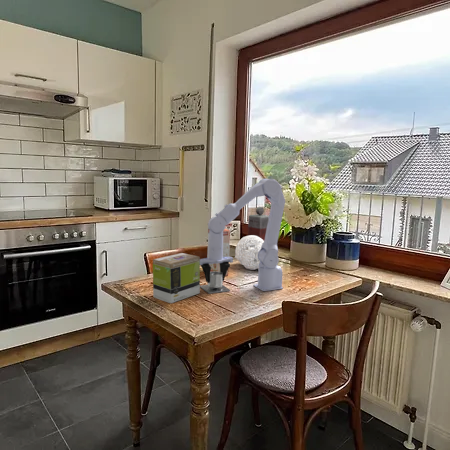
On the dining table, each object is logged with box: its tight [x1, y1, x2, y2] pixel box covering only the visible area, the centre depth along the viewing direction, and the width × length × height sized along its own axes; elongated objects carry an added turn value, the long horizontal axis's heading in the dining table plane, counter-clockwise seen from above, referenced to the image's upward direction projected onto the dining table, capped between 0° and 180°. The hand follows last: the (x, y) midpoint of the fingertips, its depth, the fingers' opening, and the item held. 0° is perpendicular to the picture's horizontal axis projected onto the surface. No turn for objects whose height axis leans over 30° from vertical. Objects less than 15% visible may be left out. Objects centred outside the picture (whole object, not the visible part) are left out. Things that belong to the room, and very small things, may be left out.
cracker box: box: [206, 226, 231, 277], centre depth 166 cm, size 14×6×21 cm, turn 22°
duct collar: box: [207, 271, 224, 288], centre depth 142 cm, size 6×6×5 cm
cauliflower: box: [234, 235, 264, 271], centre depth 178 cm, size 20×18×16 cm
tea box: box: [152, 252, 201, 304], centre depth 133 cm, size 15×10×15 cm, turn 141°
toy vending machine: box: [247, 206, 269, 241], centre depth 201 cm, size 9×11×28 cm
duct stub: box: [200, 284, 231, 295], centre depth 143 cm, size 9×9×6 cm
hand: (214, 281), depth 143 cm, fingers closed on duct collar, 6 cm apart
